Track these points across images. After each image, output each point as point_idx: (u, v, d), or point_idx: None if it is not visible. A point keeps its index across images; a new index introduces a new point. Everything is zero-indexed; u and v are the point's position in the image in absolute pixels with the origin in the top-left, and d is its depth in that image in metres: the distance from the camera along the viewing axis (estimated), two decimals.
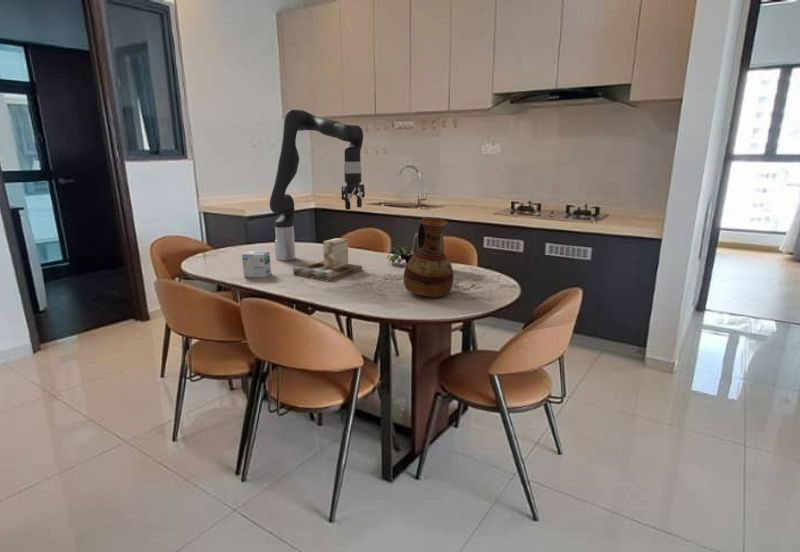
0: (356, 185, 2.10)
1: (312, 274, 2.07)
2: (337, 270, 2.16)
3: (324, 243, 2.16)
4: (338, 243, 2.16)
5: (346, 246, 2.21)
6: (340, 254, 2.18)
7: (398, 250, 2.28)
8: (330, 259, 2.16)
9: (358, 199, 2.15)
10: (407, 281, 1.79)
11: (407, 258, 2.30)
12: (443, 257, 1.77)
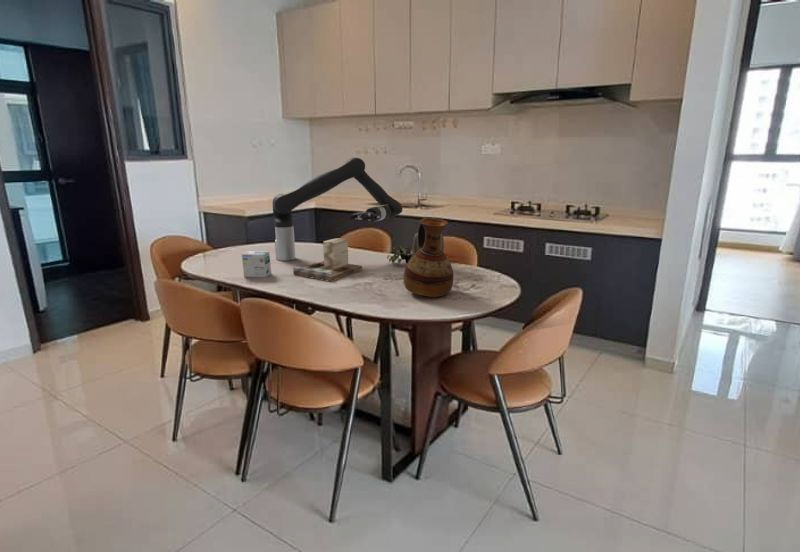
0: None
1: (312, 274, 2.07)
2: (337, 270, 2.16)
3: (324, 243, 2.16)
4: (338, 243, 2.16)
5: (346, 246, 2.21)
6: (340, 254, 2.18)
7: (398, 250, 2.28)
8: (330, 259, 2.16)
9: (355, 216, 2.35)
10: (407, 281, 1.79)
11: (407, 258, 2.30)
12: (443, 257, 1.77)
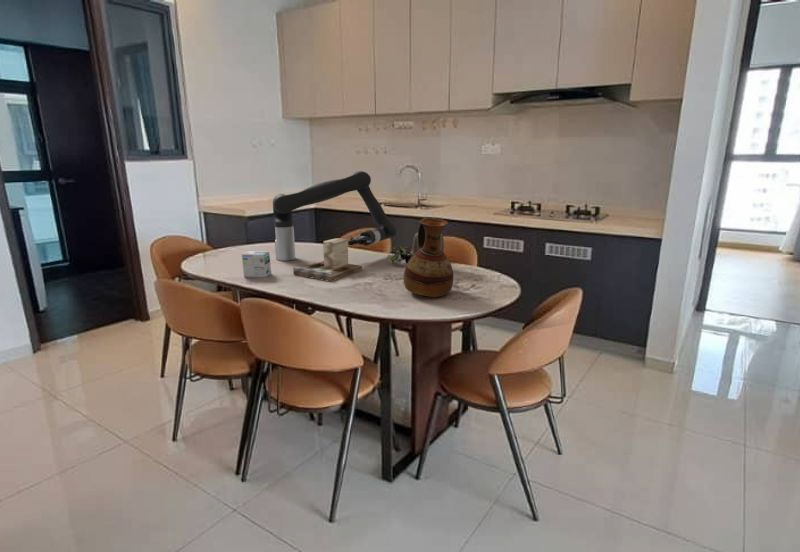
0: None
1: (312, 274, 2.07)
2: (337, 270, 2.16)
3: (324, 243, 2.16)
4: (338, 243, 2.16)
5: (346, 246, 2.21)
6: (340, 254, 2.18)
7: (398, 250, 2.28)
8: (330, 259, 2.16)
9: None
10: (407, 281, 1.79)
11: (407, 258, 2.30)
12: (443, 257, 1.77)
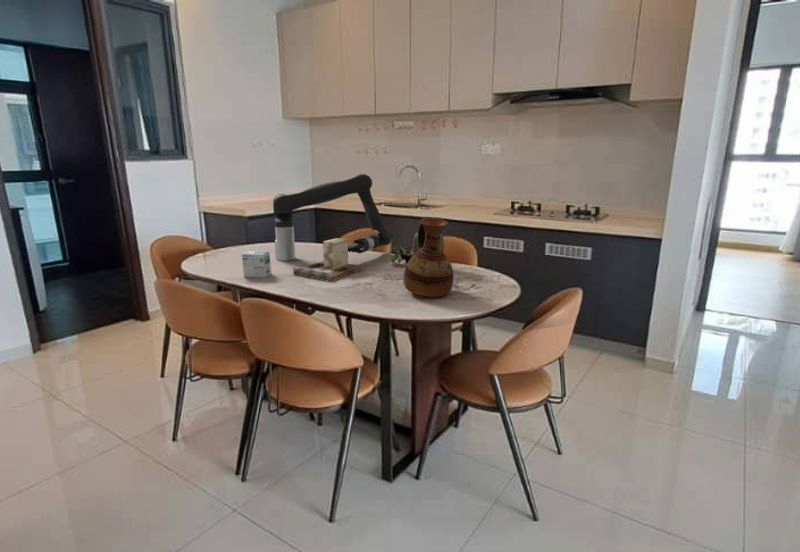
0: None
1: (312, 274, 2.07)
2: (337, 270, 2.16)
3: (324, 243, 2.16)
4: (338, 243, 2.16)
5: (346, 246, 2.21)
6: (340, 254, 2.18)
7: (398, 250, 2.28)
8: (330, 259, 2.16)
9: None
10: (407, 281, 1.79)
11: (407, 258, 2.30)
12: (443, 257, 1.77)
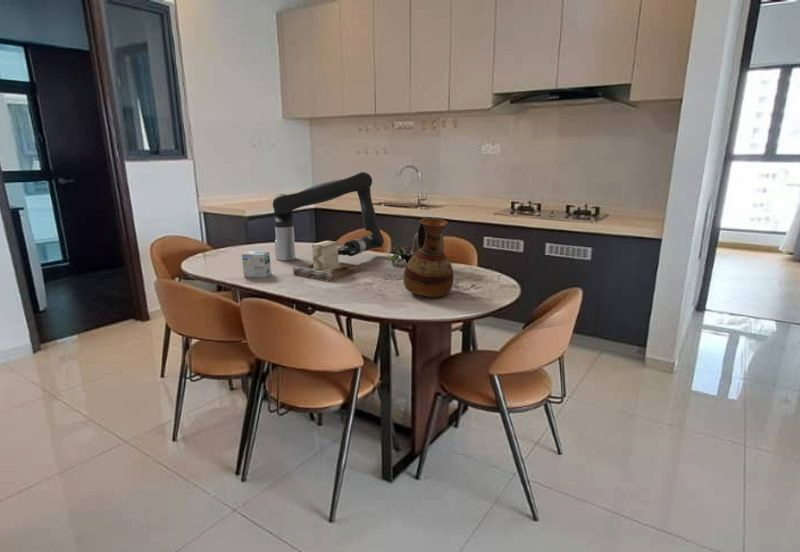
0: None
1: (312, 274, 2.07)
2: (337, 270, 2.16)
3: (313, 246, 2.10)
4: (328, 246, 2.10)
5: (336, 249, 2.15)
6: (330, 257, 2.12)
7: (398, 250, 2.28)
8: (319, 262, 2.10)
9: None
10: (407, 281, 1.79)
11: (407, 258, 2.30)
12: (443, 257, 1.77)
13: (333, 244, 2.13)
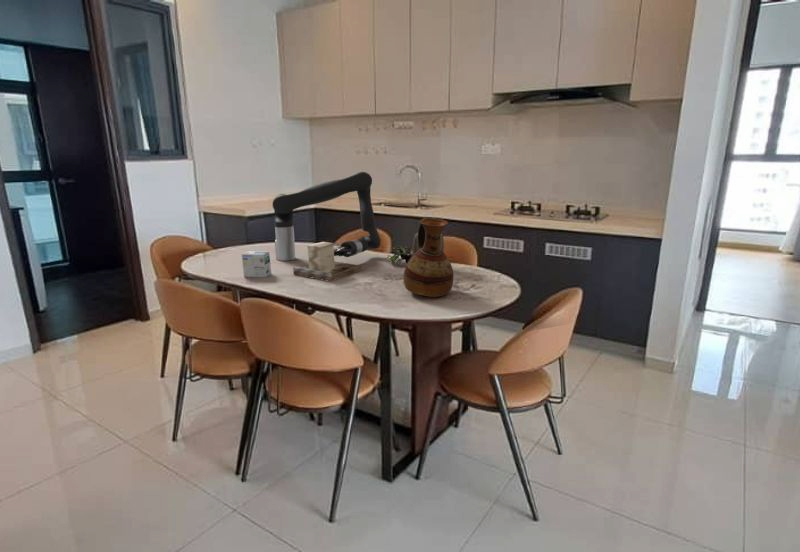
0: None
1: (312, 274, 2.07)
2: (337, 270, 2.16)
3: (309, 247, 2.07)
4: (323, 247, 2.07)
5: (332, 250, 2.13)
6: (325, 258, 2.09)
7: (398, 250, 2.28)
8: (315, 263, 2.08)
9: None
10: (407, 281, 1.79)
11: (407, 258, 2.30)
12: (443, 257, 1.77)
13: (329, 245, 2.10)
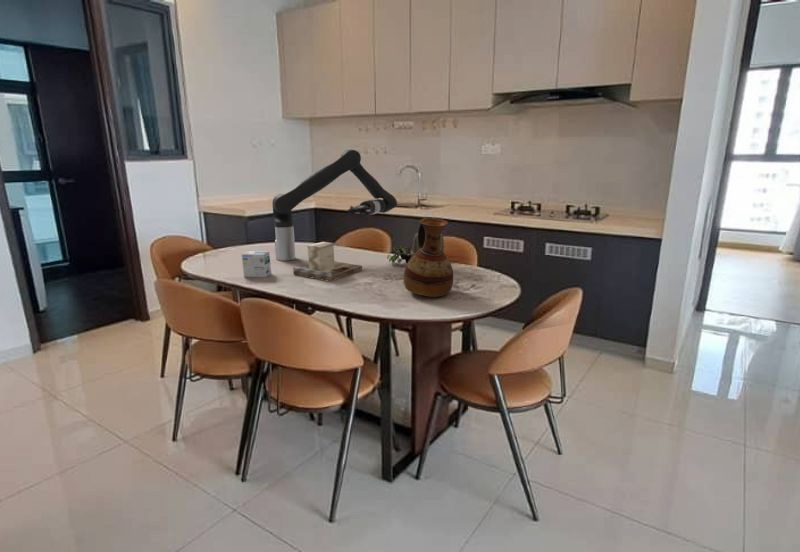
0: None
1: (312, 274, 2.07)
2: (337, 270, 2.16)
3: (309, 247, 2.07)
4: (323, 247, 2.07)
5: (332, 250, 2.13)
6: (325, 258, 2.09)
7: (398, 250, 2.28)
8: (315, 263, 2.08)
9: None
10: (407, 281, 1.79)
11: (407, 258, 2.30)
12: (443, 257, 1.77)
13: (329, 245, 2.10)
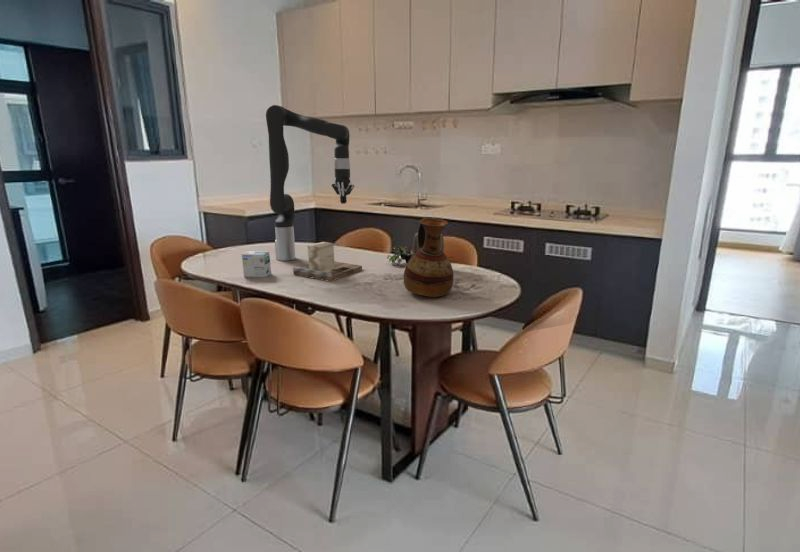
0: None
1: (312, 274, 2.07)
2: (337, 270, 2.16)
3: (309, 247, 2.07)
4: (323, 247, 2.07)
5: (332, 250, 2.13)
6: (325, 258, 2.09)
7: (398, 250, 2.28)
8: (315, 263, 2.08)
9: None
10: (407, 281, 1.79)
11: (407, 258, 2.30)
12: (443, 257, 1.77)
13: (329, 245, 2.10)
